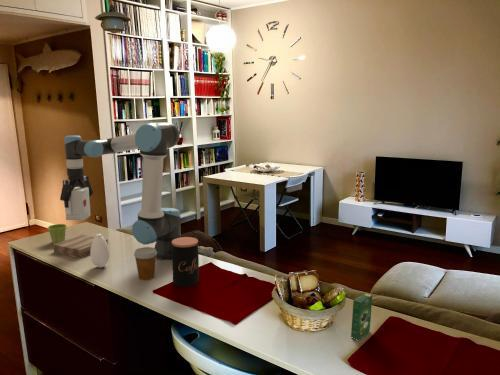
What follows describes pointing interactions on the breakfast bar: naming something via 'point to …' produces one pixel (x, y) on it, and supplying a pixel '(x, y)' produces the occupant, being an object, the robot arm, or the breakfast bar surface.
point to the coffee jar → (185, 261)
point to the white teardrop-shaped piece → (99, 251)
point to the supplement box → (79, 204)
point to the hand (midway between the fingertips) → (78, 211)
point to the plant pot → (57, 232)
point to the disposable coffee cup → (145, 262)
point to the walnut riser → (75, 246)
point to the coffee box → (361, 316)
